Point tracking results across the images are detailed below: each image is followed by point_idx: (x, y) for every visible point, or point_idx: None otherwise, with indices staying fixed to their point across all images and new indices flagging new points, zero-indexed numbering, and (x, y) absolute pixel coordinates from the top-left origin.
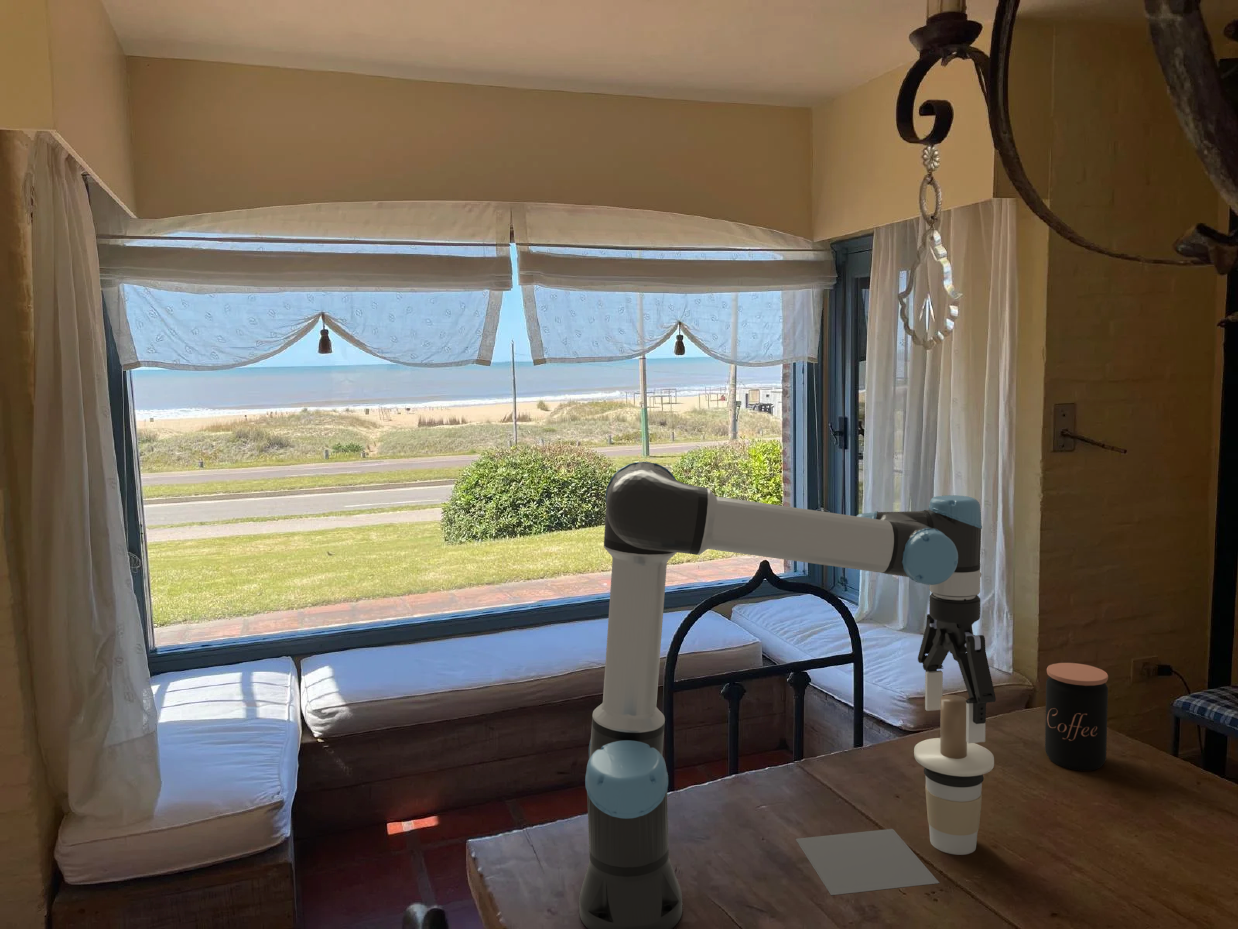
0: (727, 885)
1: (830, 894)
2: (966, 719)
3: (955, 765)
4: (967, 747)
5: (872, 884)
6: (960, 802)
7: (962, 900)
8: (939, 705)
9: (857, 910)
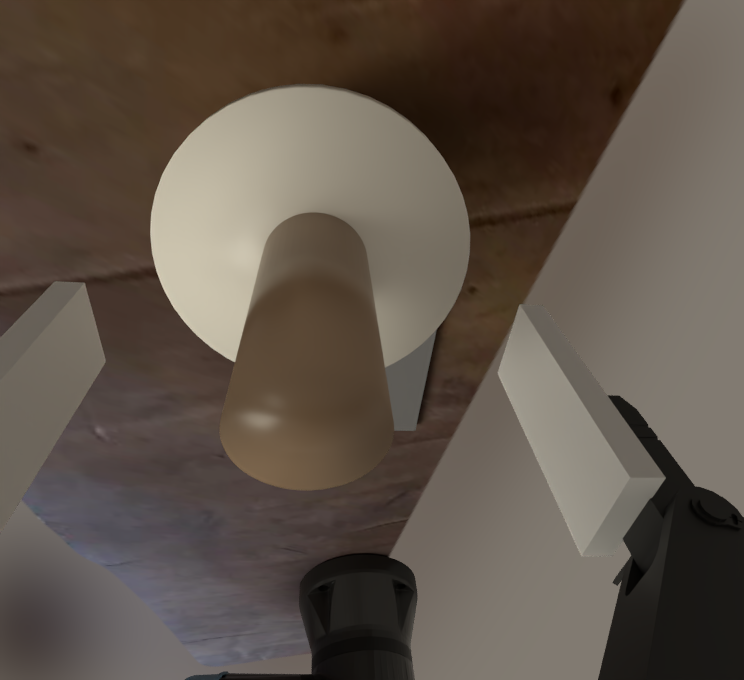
0: (337, 513)
1: (412, 430)
2: (536, 453)
3: (412, 309)
4: (270, 172)
5: (410, 373)
6: None
7: (494, 247)
8: (78, 315)
9: (448, 403)
